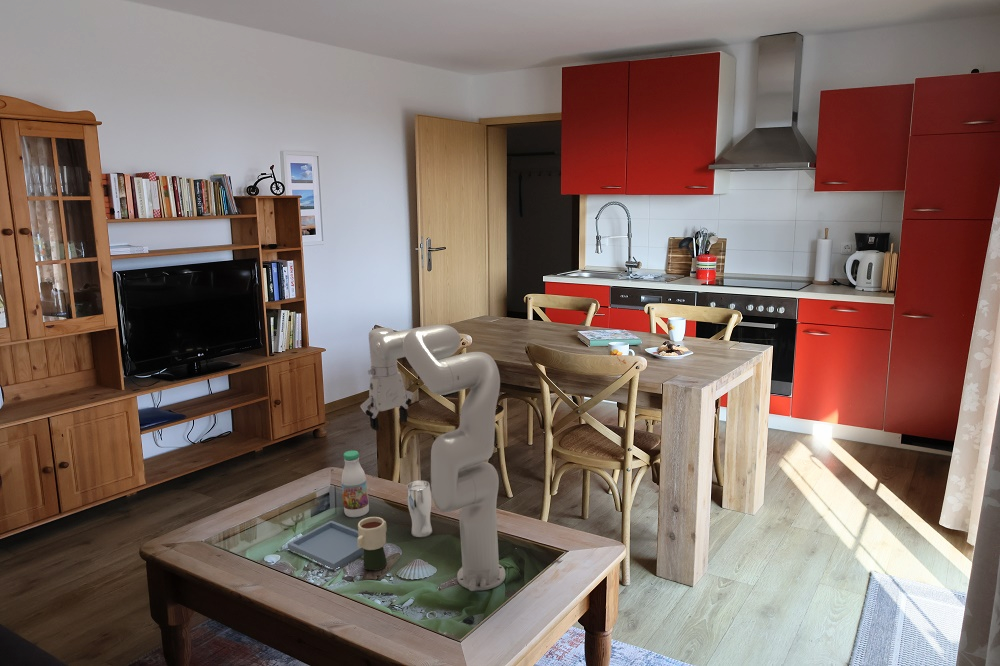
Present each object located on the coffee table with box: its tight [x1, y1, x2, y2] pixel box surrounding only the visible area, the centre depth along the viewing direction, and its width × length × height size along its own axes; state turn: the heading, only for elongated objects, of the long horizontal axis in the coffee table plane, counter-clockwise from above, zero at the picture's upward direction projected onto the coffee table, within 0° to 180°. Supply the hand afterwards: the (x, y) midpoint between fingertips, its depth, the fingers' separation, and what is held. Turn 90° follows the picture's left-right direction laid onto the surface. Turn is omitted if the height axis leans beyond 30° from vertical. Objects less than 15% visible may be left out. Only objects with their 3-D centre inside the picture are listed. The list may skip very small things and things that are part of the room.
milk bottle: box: [340, 450, 370, 518], centre depth 227 cm, size 8×8×20 cm
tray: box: [287, 520, 364, 569], centre depth 208 cm, size 20×16×2 cm
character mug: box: [357, 516, 388, 571], centre depth 196 cm, size 11×7×13 cm, turn 147°
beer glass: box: [406, 480, 433, 538], centre depth 213 cm, size 7×7×15 cm
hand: (389, 425), depth 217 cm, fingers open, 9 cm apart
